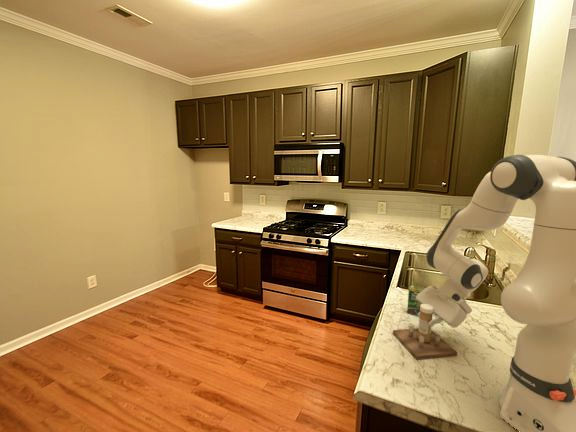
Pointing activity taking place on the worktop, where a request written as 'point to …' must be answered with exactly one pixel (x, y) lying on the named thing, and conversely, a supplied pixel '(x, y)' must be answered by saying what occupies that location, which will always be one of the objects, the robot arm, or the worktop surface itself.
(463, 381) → the worktop surface
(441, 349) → the pin board
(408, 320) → the worktop surface
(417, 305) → the coffee box
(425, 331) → the sprinkles bottle
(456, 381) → the worktop surface
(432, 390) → the worktop surface
